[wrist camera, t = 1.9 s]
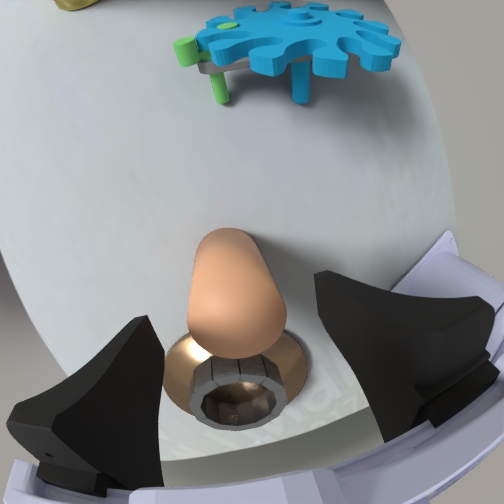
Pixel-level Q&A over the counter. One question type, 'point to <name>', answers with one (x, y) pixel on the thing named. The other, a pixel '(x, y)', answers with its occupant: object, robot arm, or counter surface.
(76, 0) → the vase
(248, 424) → the ring collar
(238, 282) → the peg
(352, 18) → the gear
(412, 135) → the counter surface
